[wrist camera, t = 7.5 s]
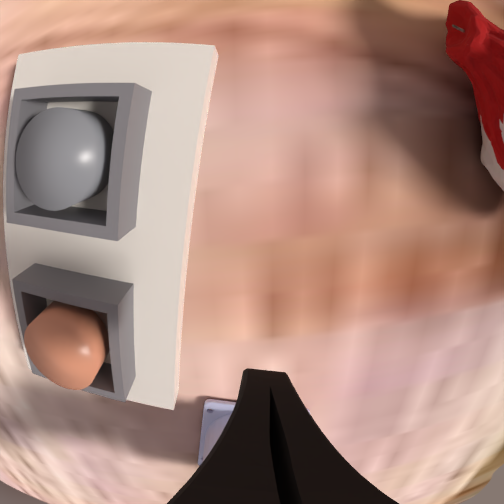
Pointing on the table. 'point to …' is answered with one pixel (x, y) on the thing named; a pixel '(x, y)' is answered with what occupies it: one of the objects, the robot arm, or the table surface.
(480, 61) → the white red irregular piece
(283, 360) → the table surface
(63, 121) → the grey low dome
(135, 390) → the button panel
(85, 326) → the terracotta button
